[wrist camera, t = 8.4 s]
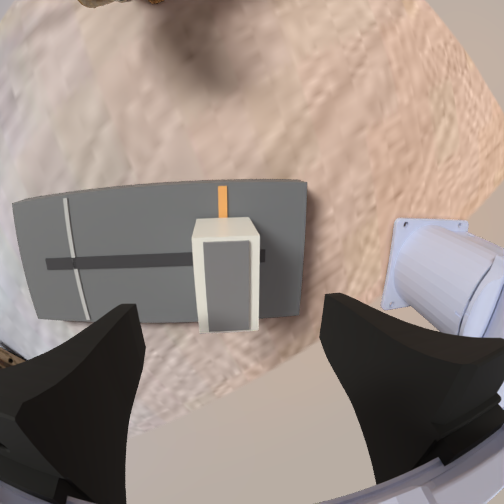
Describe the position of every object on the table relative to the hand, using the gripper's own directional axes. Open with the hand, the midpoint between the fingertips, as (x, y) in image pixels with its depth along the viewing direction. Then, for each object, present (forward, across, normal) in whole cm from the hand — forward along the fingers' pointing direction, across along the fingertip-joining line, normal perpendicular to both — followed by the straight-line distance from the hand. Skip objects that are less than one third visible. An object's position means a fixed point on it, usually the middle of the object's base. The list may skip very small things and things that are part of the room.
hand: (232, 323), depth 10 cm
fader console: (+9, +5, 0) cm, 11 cm away
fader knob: (+7, 0, 0) cm, 7 cm away
